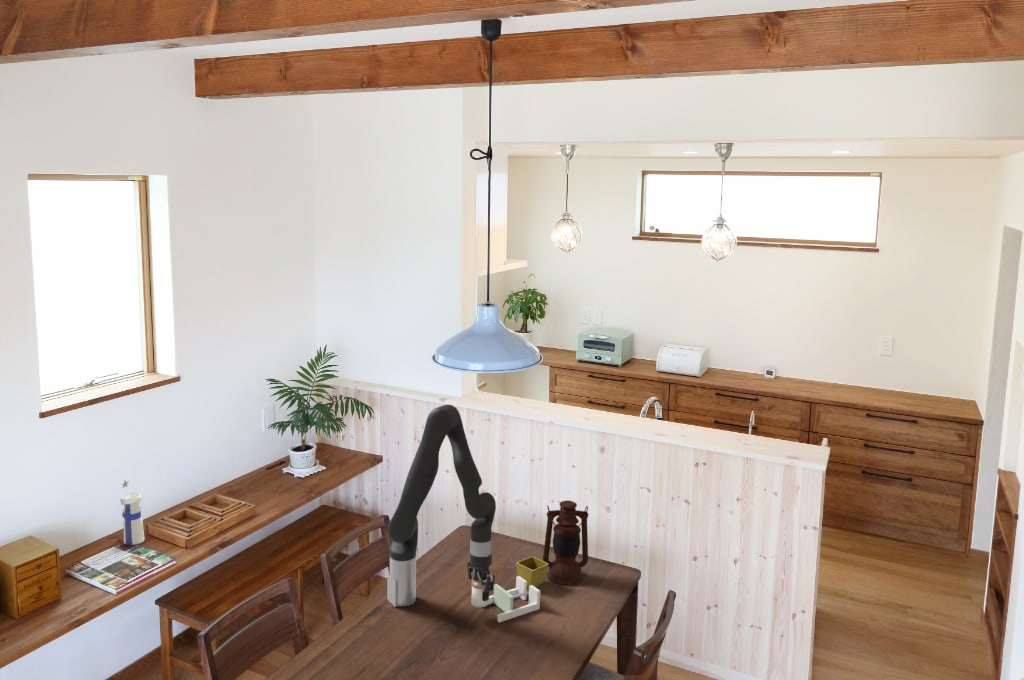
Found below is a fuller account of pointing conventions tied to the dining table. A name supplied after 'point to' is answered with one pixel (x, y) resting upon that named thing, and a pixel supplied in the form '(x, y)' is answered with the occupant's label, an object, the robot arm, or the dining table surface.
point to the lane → (520, 588)
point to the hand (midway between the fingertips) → (480, 596)
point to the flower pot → (532, 571)
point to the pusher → (505, 598)
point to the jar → (477, 594)
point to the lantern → (566, 544)
